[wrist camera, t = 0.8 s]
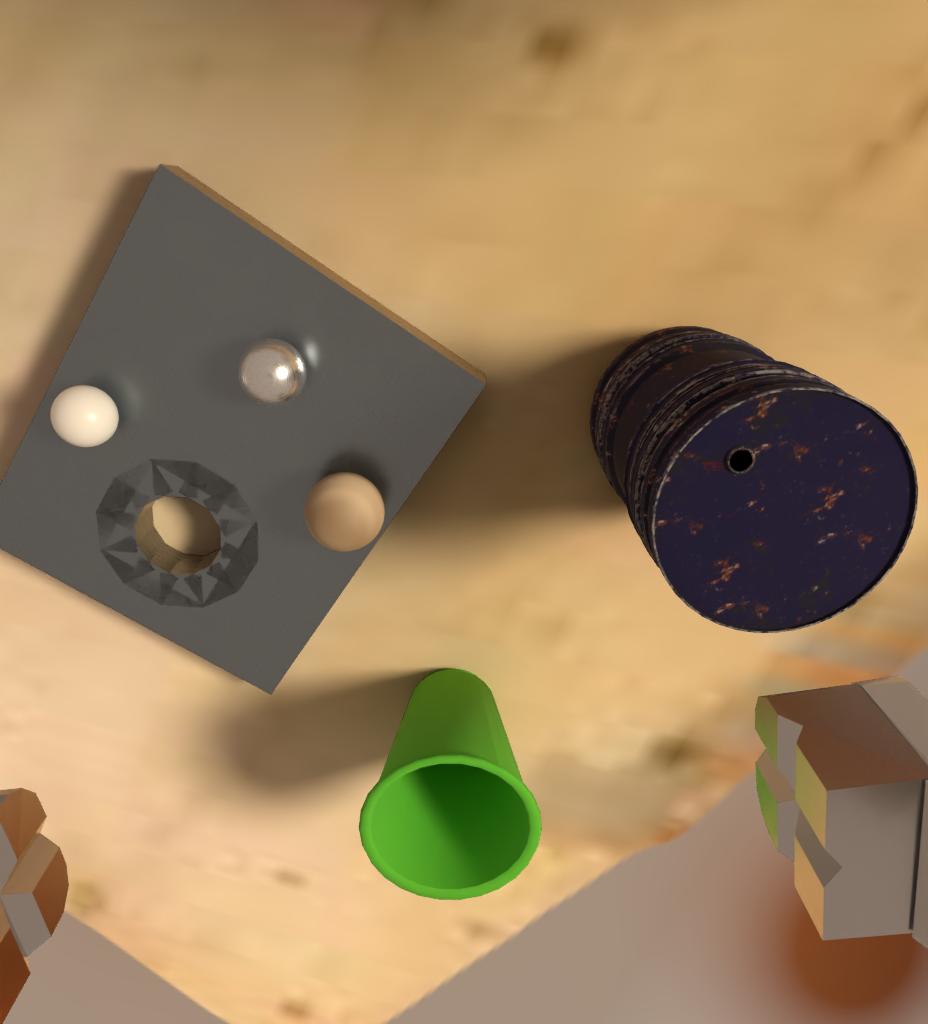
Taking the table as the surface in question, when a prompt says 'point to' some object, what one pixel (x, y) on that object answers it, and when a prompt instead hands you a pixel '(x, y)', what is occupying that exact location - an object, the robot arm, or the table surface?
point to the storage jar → (752, 479)
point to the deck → (225, 431)
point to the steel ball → (271, 372)
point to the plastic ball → (84, 416)
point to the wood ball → (344, 511)
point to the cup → (450, 796)
